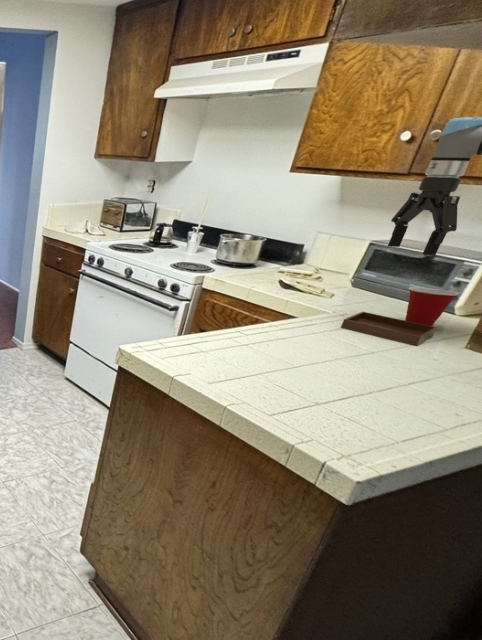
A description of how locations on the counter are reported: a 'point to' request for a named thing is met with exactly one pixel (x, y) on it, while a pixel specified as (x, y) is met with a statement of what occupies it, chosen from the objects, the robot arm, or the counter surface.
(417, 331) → the tray
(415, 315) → the plastic cup
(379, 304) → the counter surface
